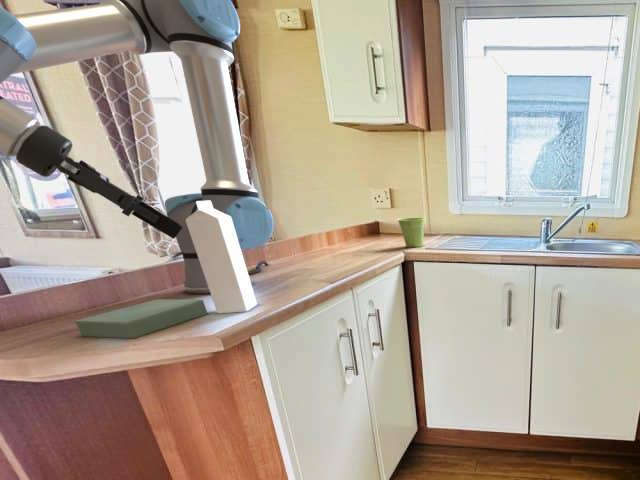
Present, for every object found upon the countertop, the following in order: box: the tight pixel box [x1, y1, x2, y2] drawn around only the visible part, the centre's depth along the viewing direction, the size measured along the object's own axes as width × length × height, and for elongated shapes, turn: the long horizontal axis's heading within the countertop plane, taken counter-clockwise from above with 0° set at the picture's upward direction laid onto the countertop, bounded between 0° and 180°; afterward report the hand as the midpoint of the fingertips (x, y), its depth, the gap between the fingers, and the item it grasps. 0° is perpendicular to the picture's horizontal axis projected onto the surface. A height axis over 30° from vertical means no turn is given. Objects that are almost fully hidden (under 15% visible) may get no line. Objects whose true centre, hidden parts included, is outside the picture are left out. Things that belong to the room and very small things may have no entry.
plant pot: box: [396, 217, 427, 248], centre depth 180 cm, size 12×12×11 cm
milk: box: [186, 200, 258, 314], centre depth 88 cm, size 6×6×22 cm
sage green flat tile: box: [74, 298, 208, 339], centre depth 84 cm, size 16×12×3 cm
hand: (177, 231), depth 83 cm, fingers open, 13 cm apart
